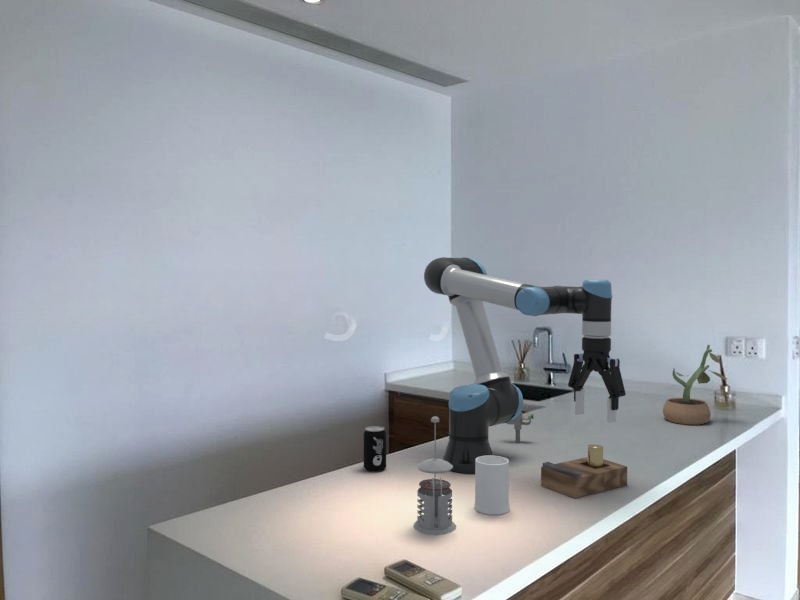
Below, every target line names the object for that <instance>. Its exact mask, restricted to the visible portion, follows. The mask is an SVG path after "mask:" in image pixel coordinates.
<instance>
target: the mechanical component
mask: <svg viewBox="0 0 800 600" xmlns="http://www.w3.org/2000/svg"><path fill="white" fill-rule="evenodd" d="M532 420H534V413H531V412H529V413H528V415H527V417H526V416H524V415H523V412H522V411H521V412H520V414H519V416H518V417H517V418H515V419H514V420H511V421H509V422H507V423H506V424H507V425H514V427H513V429H514V430H515V438H514V439H515V443H517V444H519V443H520V441H521V430H522V429H523V428H522V426H529V425H531V424H532ZM524 421H525V422H524ZM526 421H527V422H526Z"/></svg>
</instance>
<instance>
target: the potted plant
mask: <svg viewBox="0 0 800 600" xmlns="http://www.w3.org/2000/svg"><path fill="white" fill-rule="evenodd" d="M710 347H711V345H710V344H707V346H706V348H705V349H706V350H705V351H704V352H703V355H702V358H701V359H702V360H701V362H700V366H699V367H698V368H697V369H696V370H695V371H694V372H693V374H692V375H691V376H690V377H689V378H688V380H687V381H685V380H683V379H682V378H680V377H684V374H681V373H679V372H677V371H675V370H676V369H675V367H673V369H672V373H671V374H672V377H673V379H674V380H675V381H676V382H677V383H678V384H679V385H681V386H682V387H683V388H684V389H683V392H682V393H683V394H682V397H672V398H668V399H665V403H664V404H663V408H662V413H663V417H664V419H665V420H667V421H668V422H670V423H673V422H674V424H677V423H679V424H678V425H684V424H686V425H687V426H700V424H702V425H705V424H707V423H708V422H709V421H710V419H711V415H712V413H711V410H710V407H709V405H708V403H707V401H705V400H701V399H696V398H691V390H692V387H693V385H694V382H695V381H696V380H697V382H698V384H699V385H700V384H708V383H709V382H710V381H711V378H710V376H709V375H708V374H707V373H706V371H707V370H708V371H710V372H711V373H712V374H714V375H716V376H717V377H719V378H721V380H728V378H727V377H725V376H724V375H723V374H721V373H718V372H716V371H712V370H710V369H709V368H710V366H711V365H709V364H707V365H706V361H707V357H708V355H709V357H710V359H712V360H713V362H715V363H718V364H720V361H719V357H718V356H717V355H716V354H714V353H712V352H713V350H712V348H710ZM689 375H690V374H687V375H686V377H688V376H689ZM704 423H705V424H704ZM686 425H685V426H686Z"/></svg>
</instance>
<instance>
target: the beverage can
mask: <svg viewBox="0 0 800 600" xmlns="http://www.w3.org/2000/svg"><path fill="white" fill-rule="evenodd" d="M385 429H386V428H385V427H384V426H381V425H372V426H371V425H370V426H367V427H365V428H364V430H365V431H364V432H363V468H364V470H365V471H367V472H371V473H377V472H382V471H384V470H385V469H386V468H387V432H386V431H385Z"/></svg>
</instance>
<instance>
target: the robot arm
mask: <svg viewBox="0 0 800 600" xmlns="http://www.w3.org/2000/svg"><path fill="white" fill-rule="evenodd" d="M423 280H424V284H425V286H426V287H427V288H428V289H429V290H430V291H431V292H432V293H435V294H436V295H437V294H438V295H443V296H448V300H449V304H451V305H453V306H454V307H456V312H457V315H458V319H459V322H460V326H461V329H462V332H463V336H464V340H465V344H466V347H467V348H466V349H467V350H468V354H469V358H470V362H471V365H472V369H473V373H474V376H475V381H474V383H472V384H470V383H469V384H461V385H459V386H457V387H454V388H452V389H451V391H450V392H449V397H448V442H447V445H446V448H445V452H444V455H443V457H442V460H444V461H447V462H449V463H450V464H451V465H452V466H453V468H452V469H451V470H450V471H451V472H453V473H454V472H455V473H459V474H460V473H461V474H475V459H476V458H477V457H480V456H487V455H493V456H494V454H493V451H492V448H491V445H490V444H491V443H490V441H489V429H490V428H489V427H493V426H497V425H501V424H502V425H503V424H507V422H509V421H511V420H514V419H515V418H517V417H518V416H519V414H520V412H522V410H523V406H524V398H523V393H522V390H520V388H519V387H517V386H516V384H514V383H512V382H511V379H510V375H509V374H507V373H505V372H504V371H503V367H502V365H501V361H500V359H499V353H498V350H497V347H496V344H495V341H494V340H495V339H494V337H493V332H492V330H491V327H490V322H489V320H488V316H487V313H486V308H485V306H484V302H485V303H489V304H492V305H496V306H497V305H498V306H500V307H504V308H508V309H513V310H517V311H519V312H520V313H521V314H523V315H525V316H531V317H537V316H545V315H558V314H575V315H576V314H578V315H581V317H582V320H581V321H582V326H581V335H582V336H583V337H582V338H581V350H582V351H583V353H574V354H573V366H572V368H571V372H570V377H569V379H568V384H567V385H568V388H571V389H572V390H573V401H574V402H575V406H574V407H575V411H574V412H575V415H577V416H579V415H584V414H585V390H584V386H585V385H586V382H587V380H588V378H589V377H590V376H591V375H590V374H591V373H592V372H593V371H594V372H596V373H598V374H599V375H600V376H601V379H602V381H603V383H604V386H605V388H606V390H607V392H608V395H609V396H608V397H607V400H606V403H607V404H606V405H607V409H606V414H607V415H606V422H607V423H609V424H610V423H615V422H617V411H618V410H619V403H620V402H619V401H620V400H619V398H621V397H626V391H625V386H624V381H623V377H622V373H621V368H620V362H621V360H620V359H619V358H611V357H610V352H611V350H612V339H611V337H610V336H612V301H613V295H612V294H613V293H612V292H613V291H612V282H611V281H610V280H607V279H584V280H583V281H582V285H581V286H566V285H565V286H562V285H552V286H537V285H532V284H527V283H524V282H519V281H514V280H508V279H506V278H501V277H496V276H491V275H488V274H487V269H486V268H485V266H484V265H483V264H482V262H480V261H478V260H477V259H474V258H469V257H466V256H465V257H464V256H463V257H445V256H443V257H438V258H435V259H433V260H432V261H430V262H429V263H428V264H427V265H426V267H425V269H424V273H423Z"/></svg>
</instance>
